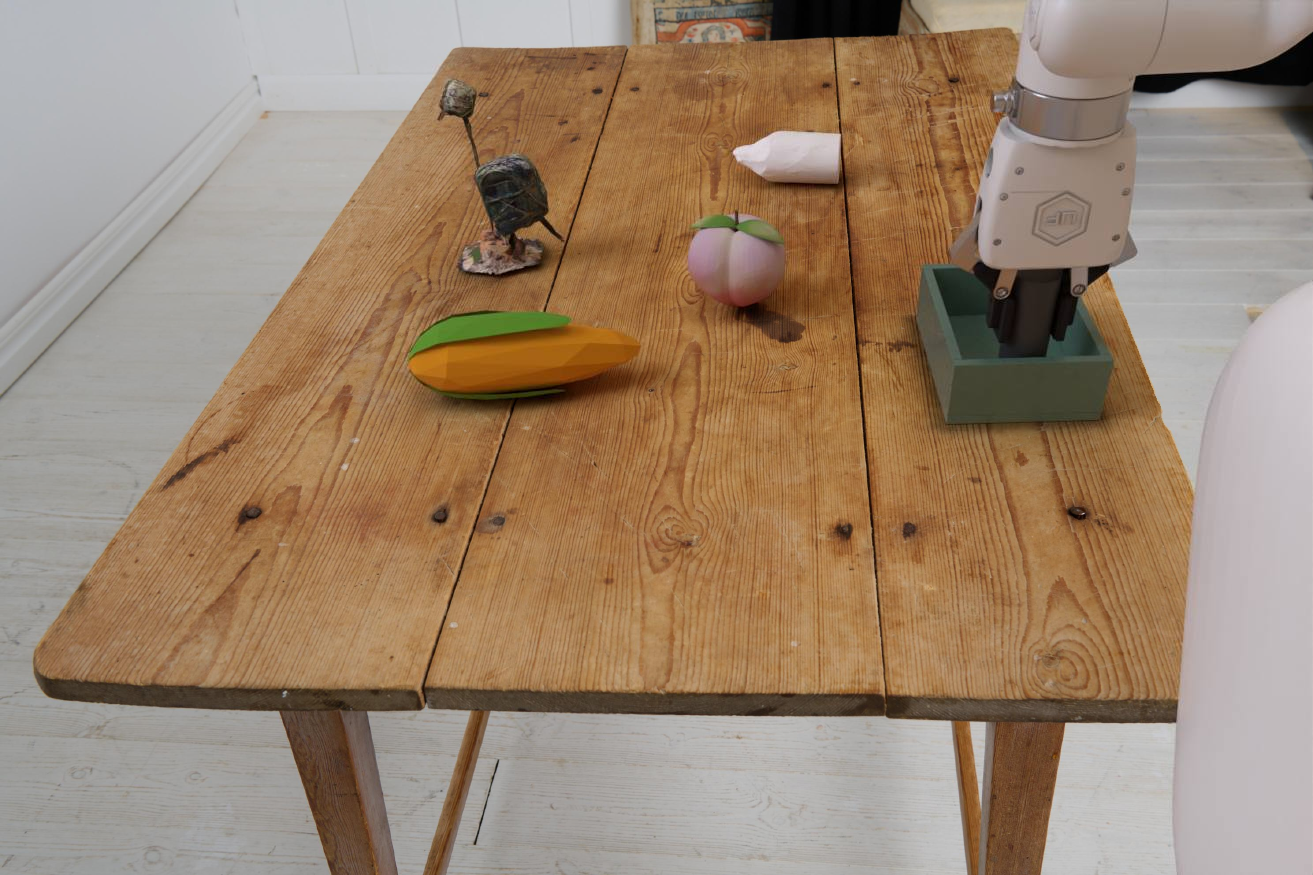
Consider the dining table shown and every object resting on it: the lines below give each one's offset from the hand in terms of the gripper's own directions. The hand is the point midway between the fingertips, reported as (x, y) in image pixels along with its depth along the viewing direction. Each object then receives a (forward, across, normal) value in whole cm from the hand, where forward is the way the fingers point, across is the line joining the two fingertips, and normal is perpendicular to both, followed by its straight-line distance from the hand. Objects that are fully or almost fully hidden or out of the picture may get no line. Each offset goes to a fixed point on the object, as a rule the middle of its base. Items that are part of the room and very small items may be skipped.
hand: (1026, 330), depth 84 cm
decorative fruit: (+7, -22, +16) cm, 28 cm away
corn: (+7, -41, +4) cm, 42 cm away
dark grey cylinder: (+3, 0, 0) cm, 3 cm away
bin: (+7, 0, +5) cm, 8 cm away
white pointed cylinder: (+7, -16, +43) cm, 46 cm away
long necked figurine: (+7, -46, +26) cm, 53 cm away
